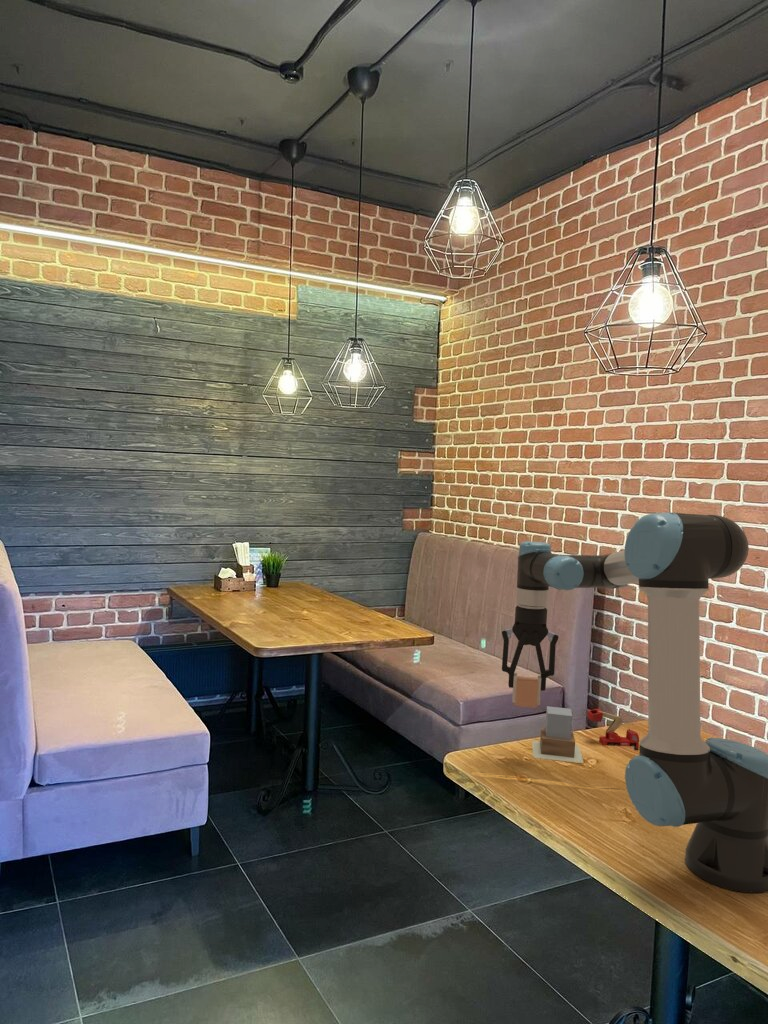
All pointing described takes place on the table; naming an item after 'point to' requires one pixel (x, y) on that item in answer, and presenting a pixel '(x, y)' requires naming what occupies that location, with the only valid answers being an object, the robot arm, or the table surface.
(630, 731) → the toy fire truck
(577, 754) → the plate
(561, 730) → the slate brick
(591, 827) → the table surface
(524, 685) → the terracotta brick
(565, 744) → the walnut base
